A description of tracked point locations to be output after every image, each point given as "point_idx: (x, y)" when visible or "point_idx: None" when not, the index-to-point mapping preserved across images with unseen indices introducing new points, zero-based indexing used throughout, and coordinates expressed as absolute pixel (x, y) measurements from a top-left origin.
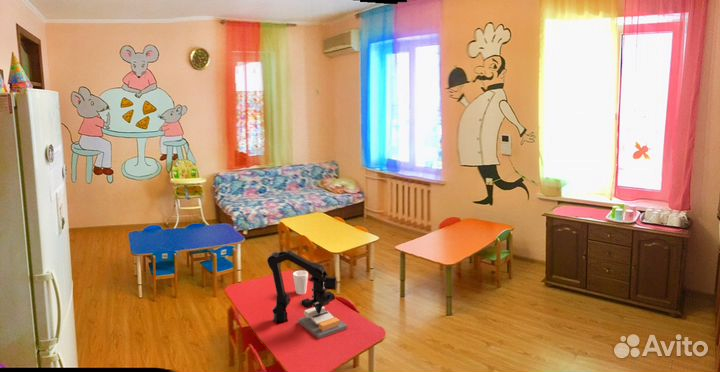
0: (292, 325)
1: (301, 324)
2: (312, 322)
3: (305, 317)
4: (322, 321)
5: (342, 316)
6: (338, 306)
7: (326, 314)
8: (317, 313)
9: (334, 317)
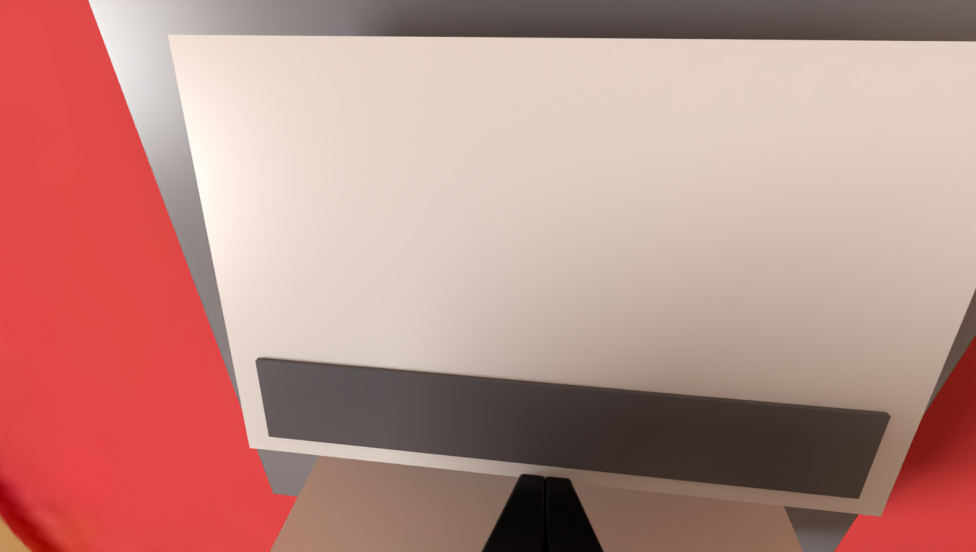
0: (944, 499)
1: None
2: None
3: None
4: (760, 40)
5: (58, 236)
6: (77, 470)
7: (358, 333)
8: None
9: (195, 228)
